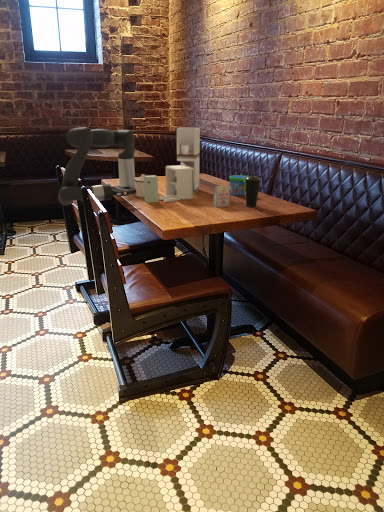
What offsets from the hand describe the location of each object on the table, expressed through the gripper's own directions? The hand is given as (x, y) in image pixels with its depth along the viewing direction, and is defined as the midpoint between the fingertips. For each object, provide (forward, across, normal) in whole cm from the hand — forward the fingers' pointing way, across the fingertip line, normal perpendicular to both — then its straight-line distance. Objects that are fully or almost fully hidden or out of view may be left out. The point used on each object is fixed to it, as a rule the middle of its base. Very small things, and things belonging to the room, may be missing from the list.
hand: (132, 189), depth 202 cm
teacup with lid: (+12, +16, +7) cm, 21 cm away
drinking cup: (+50, -32, +7) cm, 60 cm away
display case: (+40, +16, +7) cm, 43 cm away
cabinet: (+24, +3, +7) cm, 25 cm away
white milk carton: (+37, -25, +7) cm, 45 cm away
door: (+10, 0, +7) cm, 12 cm away
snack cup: (+60, -6, +7) cm, 60 cm away
